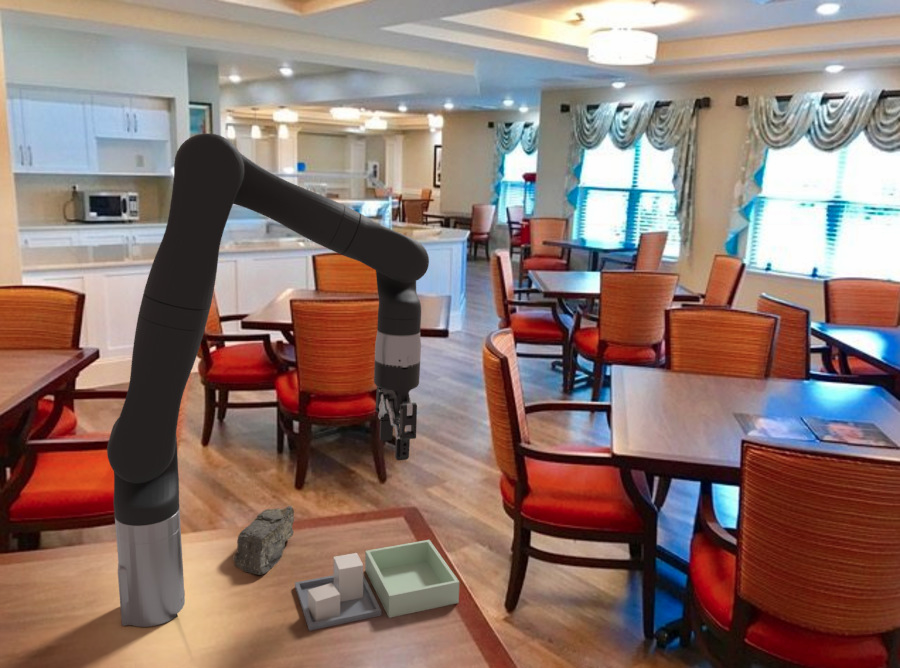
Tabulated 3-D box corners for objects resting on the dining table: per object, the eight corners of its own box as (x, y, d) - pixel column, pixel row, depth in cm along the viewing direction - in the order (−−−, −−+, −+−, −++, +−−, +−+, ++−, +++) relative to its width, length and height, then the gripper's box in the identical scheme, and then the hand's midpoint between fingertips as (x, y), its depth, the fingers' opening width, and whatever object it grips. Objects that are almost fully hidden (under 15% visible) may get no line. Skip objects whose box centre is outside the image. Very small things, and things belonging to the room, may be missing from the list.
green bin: (388, 620, 113) (389, 596, 112) (365, 573, 125) (365, 550, 124) (458, 605, 117) (459, 581, 116) (428, 561, 130) (429, 539, 129)
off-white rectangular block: (339, 602, 116) (339, 569, 114) (333, 588, 119) (333, 556, 118) (362, 597, 117) (363, 565, 116) (356, 584, 121) (356, 552, 119)
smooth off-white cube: (316, 624, 110) (316, 601, 109) (308, 612, 113) (307, 589, 112) (340, 616, 112) (340, 594, 111) (331, 604, 115) (331, 582, 114)
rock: (245, 508, 137) (295, 497, 137) (255, 540, 138) (304, 528, 138) (220, 553, 120) (277, 540, 120) (232, 588, 122) (288, 575, 122)
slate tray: (309, 633, 109) (309, 625, 108) (295, 590, 120) (295, 582, 119) (381, 618, 113) (381, 610, 113) (361, 577, 124) (361, 570, 124)
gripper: (363, 347, 121) (360, 436, 125) (389, 371, 109) (385, 468, 112) (404, 345, 124) (400, 432, 128) (434, 368, 112) (429, 463, 115)
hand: (393, 449), depth 120 cm, fingers open, 8 cm apart
